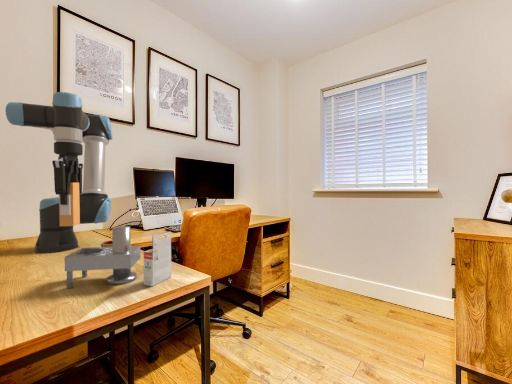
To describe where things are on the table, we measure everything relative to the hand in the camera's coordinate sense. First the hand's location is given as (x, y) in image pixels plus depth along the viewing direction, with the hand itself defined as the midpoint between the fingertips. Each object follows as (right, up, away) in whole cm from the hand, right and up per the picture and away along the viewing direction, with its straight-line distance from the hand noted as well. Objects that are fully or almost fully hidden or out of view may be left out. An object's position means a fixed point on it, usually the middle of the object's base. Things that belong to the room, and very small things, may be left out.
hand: (69, 213), depth 83 cm
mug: (+3, -19, +17) cm, 26 cm away
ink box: (+32, -20, -7) cm, 38 cm away
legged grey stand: (+16, -20, -7) cm, 26 cm away
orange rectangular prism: (0, -4, 0) cm, 4 cm away
